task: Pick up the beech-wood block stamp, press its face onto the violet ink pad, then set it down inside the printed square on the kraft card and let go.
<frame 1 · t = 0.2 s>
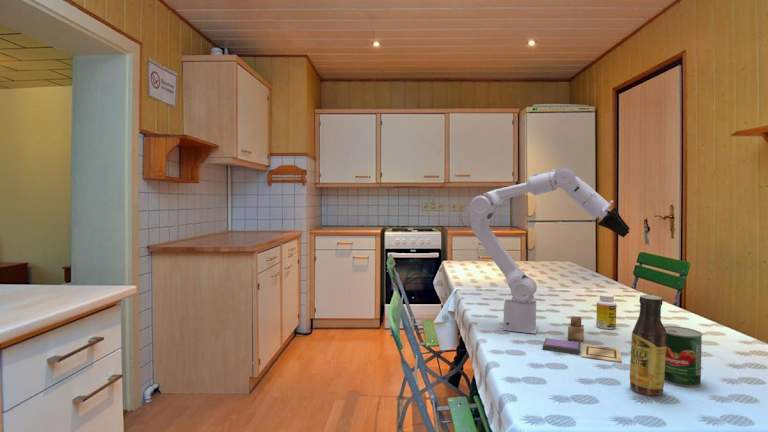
hand: (626, 233, 126), 31 cm above the table, tool tilted 45°, fingers open, 7 cm apart
card sheet: (601, 353, 118), on the table
supplement bottle: (606, 328, 142), on the table
canned tomato: (679, 381, 100), on the table
ink pad: (561, 348, 122), on the table
sauce bottle: (646, 392, 94), on the table
stamp: (575, 339, 129), on the table
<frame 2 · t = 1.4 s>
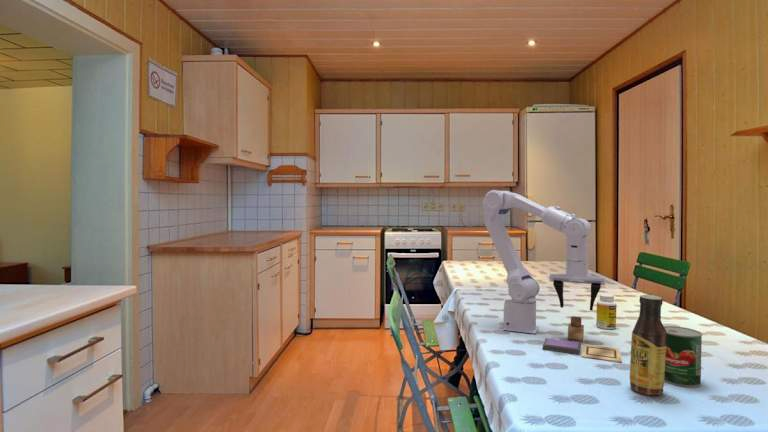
hand: (576, 308, 129), 9 cm above the table, tool pointing down, fingers open, 7 cm apart
nothing on the table moved.
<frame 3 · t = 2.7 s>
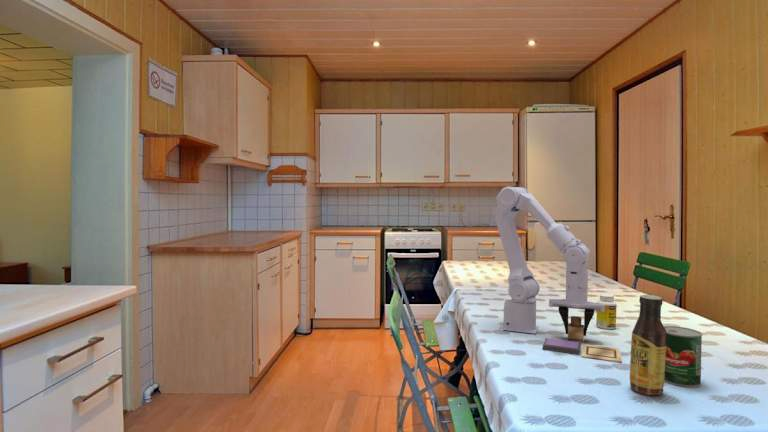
hand: (575, 334, 129), 2 cm above the table, tool pointing down, fingers closed on stamp, 4 cm apart
stamp: (575, 339, 129), on the table, touching gripper
everything else where it was.
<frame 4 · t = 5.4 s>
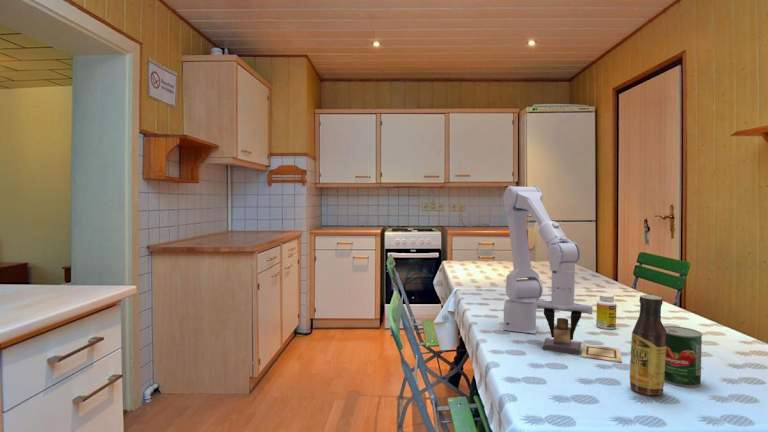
hand: (562, 337, 122), 3 cm above the table, tool pointing down, fingers closed on stamp, 4 cm apart
stamp: (562, 342, 122), point 1 cm above the table, touching gripper, ink pad
everything else where it was.
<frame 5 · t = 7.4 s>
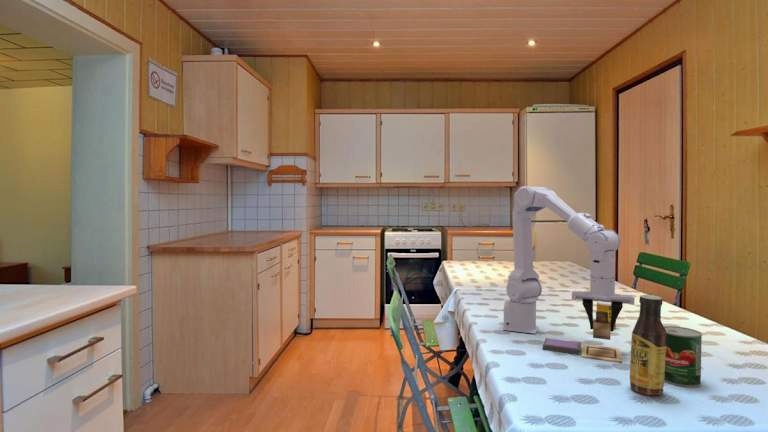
hand: (601, 329, 117), 6 cm above the table, tool pointing down, fingers closed on stamp, 4 cm apart
stamp: (601, 336, 118), point 4 cm above the table, touching gripper
everything else where it was.
when the fingers open (2 cm above the table, at t = 8.5 s): stamp stays where it is, resting on card sheet.
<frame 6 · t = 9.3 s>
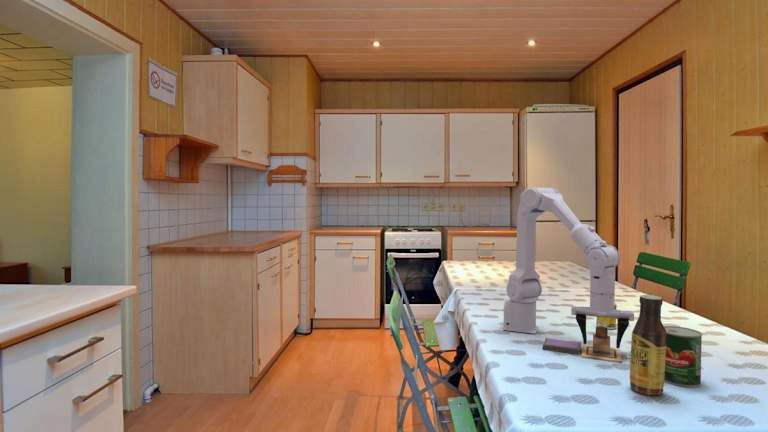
hand: (601, 345, 118), 2 cm above the table, tool pointing down, fingers open, 7 cm apart
stamp: (601, 352, 118), resting on card sheet
everything else where it was.
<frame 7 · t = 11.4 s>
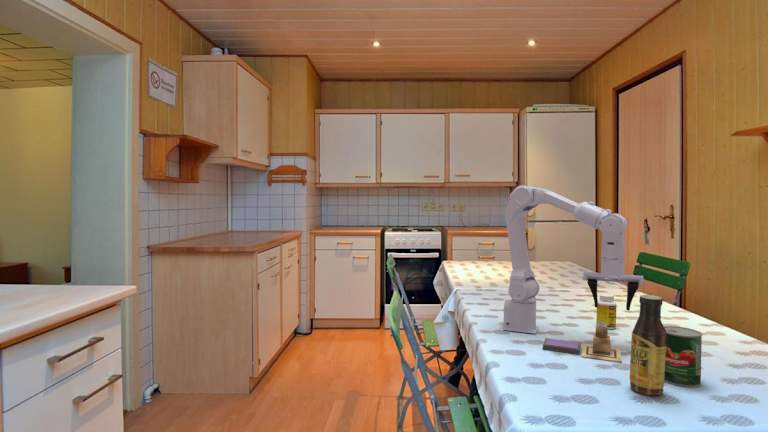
hand: (611, 308, 123), 10 cm above the table, tool pointing down, fingers open, 7 cm apart
nothing on the table moved.
at the end: stamp 0.2 cm off-centre on the card sheet, point 0.3 cm above the card sheet's base; stamp tilted 0°; the gripper is holding nothing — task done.
